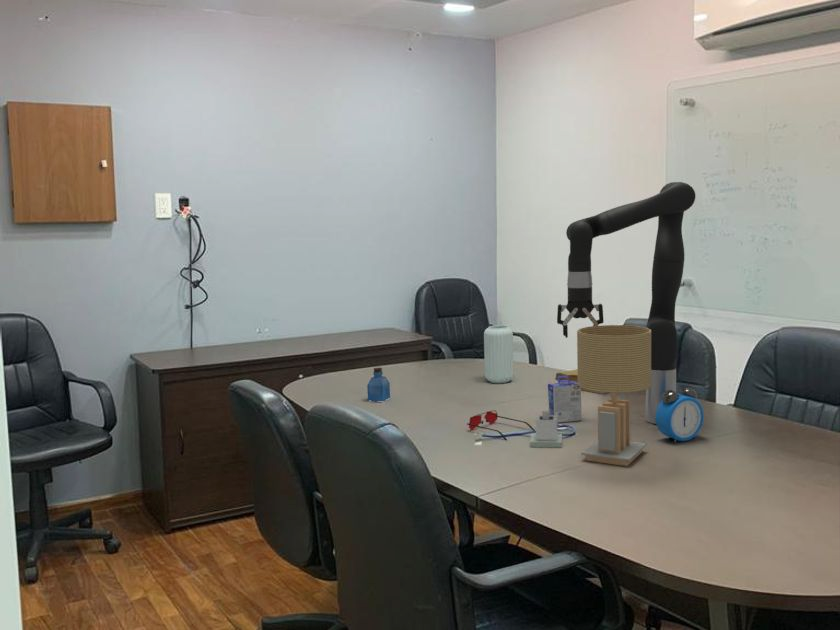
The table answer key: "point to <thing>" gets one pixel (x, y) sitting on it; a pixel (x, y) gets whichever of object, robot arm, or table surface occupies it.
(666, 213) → the robot arm
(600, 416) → the desk lamp
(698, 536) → the table surface
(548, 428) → the grey hollow cube
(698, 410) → the alarm clock
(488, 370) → the vase
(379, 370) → the perfume bottle
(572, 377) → the book
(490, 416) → the glasses
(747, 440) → the table surface
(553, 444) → the shaft block
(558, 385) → the ink cartridge box
